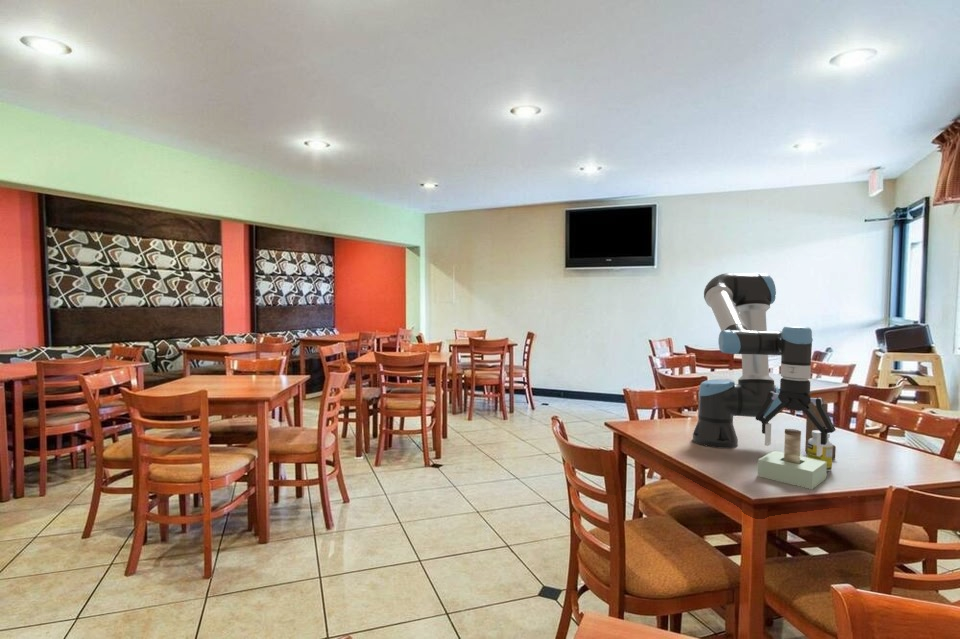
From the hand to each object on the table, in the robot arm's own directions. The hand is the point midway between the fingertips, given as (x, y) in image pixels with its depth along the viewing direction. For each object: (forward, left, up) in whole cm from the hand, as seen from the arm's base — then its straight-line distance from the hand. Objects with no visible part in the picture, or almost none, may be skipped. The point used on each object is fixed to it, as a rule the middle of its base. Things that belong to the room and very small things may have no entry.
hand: (792, 449), depth 147 cm
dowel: (0, 0, -8) cm, 8 cm away
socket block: (0, 0, -8) cm, 8 cm away
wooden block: (-1, +33, -8) cm, 34 cm away
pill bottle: (+3, +16, -8) cm, 18 cm away
